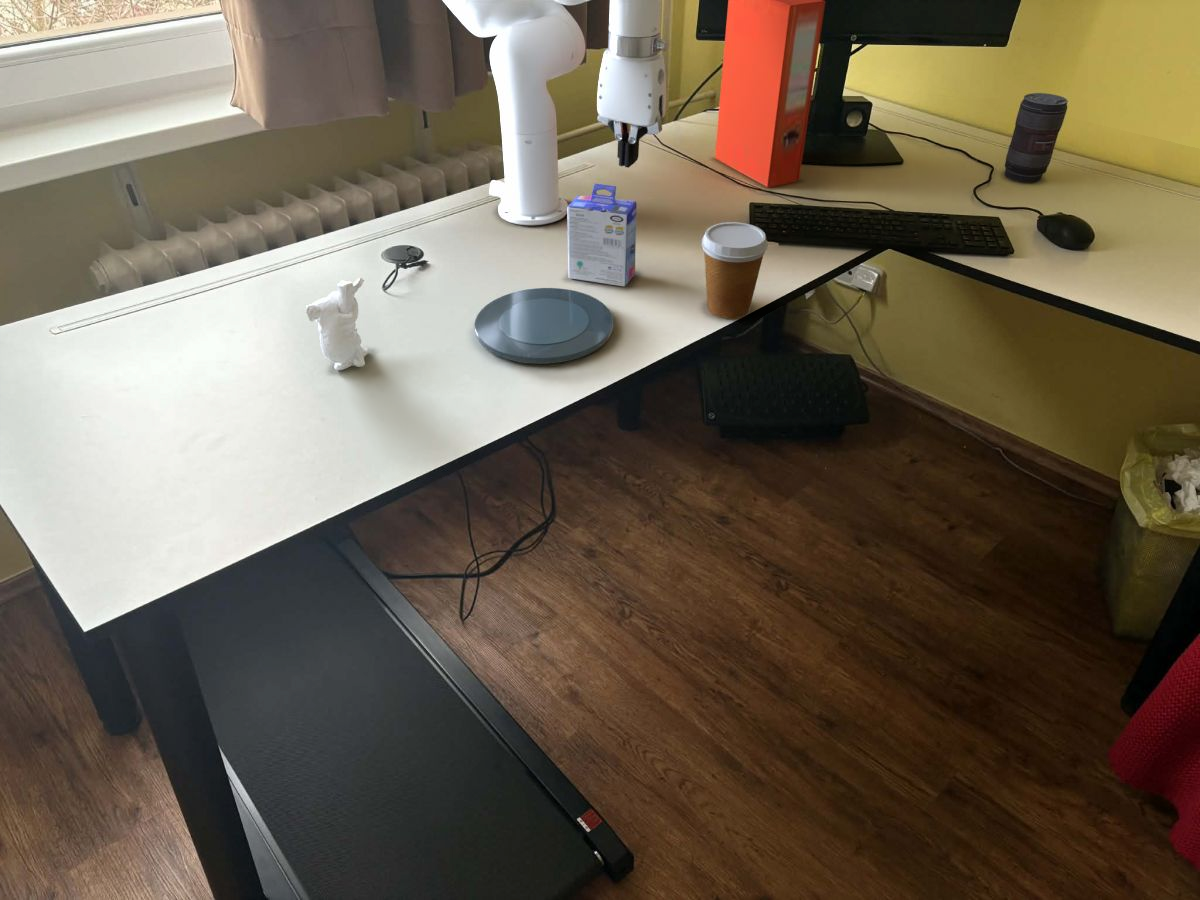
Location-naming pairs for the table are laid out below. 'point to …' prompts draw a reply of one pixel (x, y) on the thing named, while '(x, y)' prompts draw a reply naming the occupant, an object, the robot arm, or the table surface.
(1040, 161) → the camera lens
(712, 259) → the disposable coffee cup
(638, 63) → the robot arm
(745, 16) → the file binder
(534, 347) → the plate
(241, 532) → the table surface
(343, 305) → the white upright lumpy figure
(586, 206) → the ink cartridge box
